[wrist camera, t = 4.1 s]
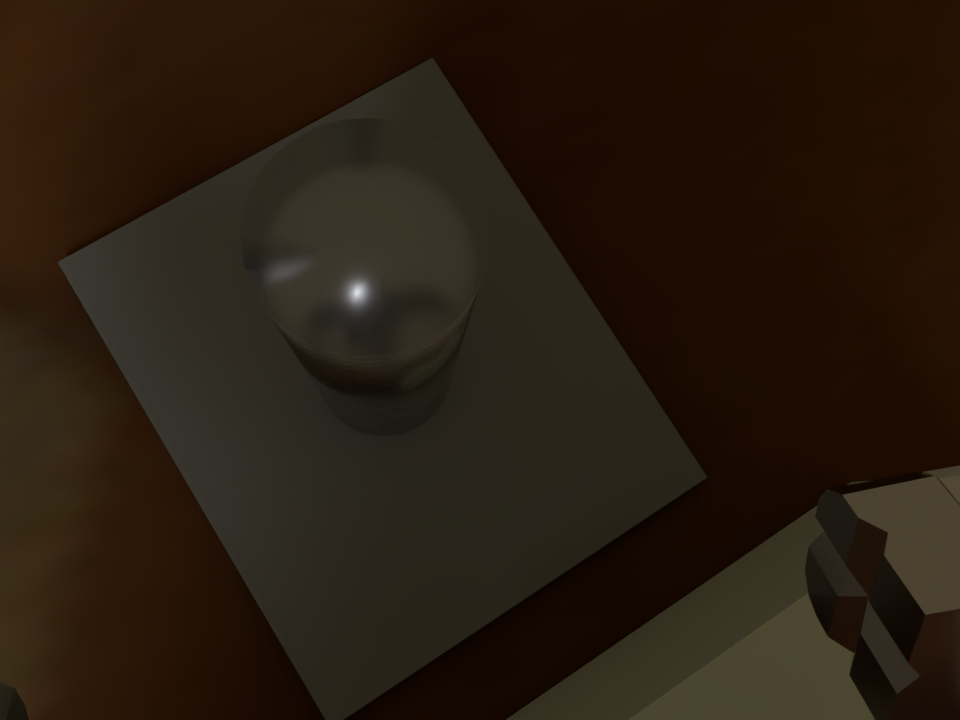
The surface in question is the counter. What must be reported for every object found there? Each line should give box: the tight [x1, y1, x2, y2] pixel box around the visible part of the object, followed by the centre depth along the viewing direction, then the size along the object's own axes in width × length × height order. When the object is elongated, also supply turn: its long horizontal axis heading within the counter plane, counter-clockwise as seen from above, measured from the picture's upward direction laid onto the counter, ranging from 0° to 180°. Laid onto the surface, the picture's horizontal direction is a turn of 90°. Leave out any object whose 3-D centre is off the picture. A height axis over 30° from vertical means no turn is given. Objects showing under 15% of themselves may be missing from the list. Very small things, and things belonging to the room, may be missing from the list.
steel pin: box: [241, 118, 490, 436], centre depth 16 cm, size 3×3×10 cm
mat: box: [58, 58, 707, 720], centre depth 21 cm, size 12×10×1 cm
